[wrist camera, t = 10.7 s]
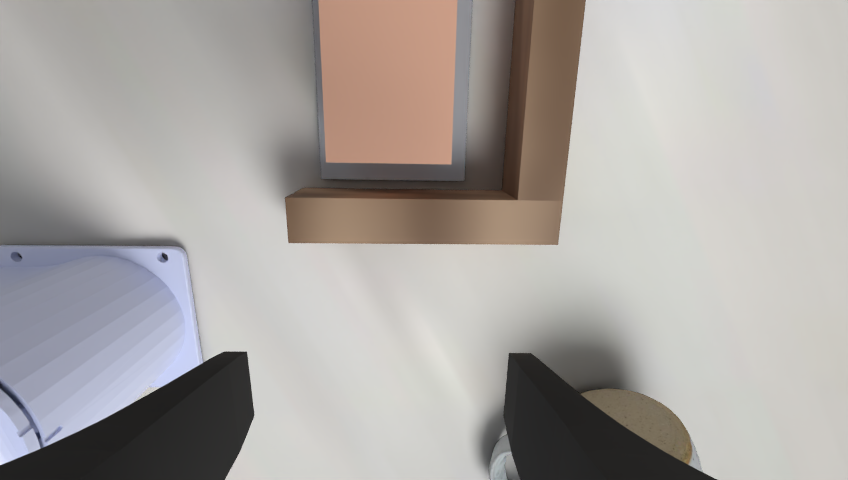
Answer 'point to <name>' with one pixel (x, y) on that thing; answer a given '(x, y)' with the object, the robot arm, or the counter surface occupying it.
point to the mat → (460, 110)
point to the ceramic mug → (634, 415)
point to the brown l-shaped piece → (523, 160)
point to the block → (388, 80)
